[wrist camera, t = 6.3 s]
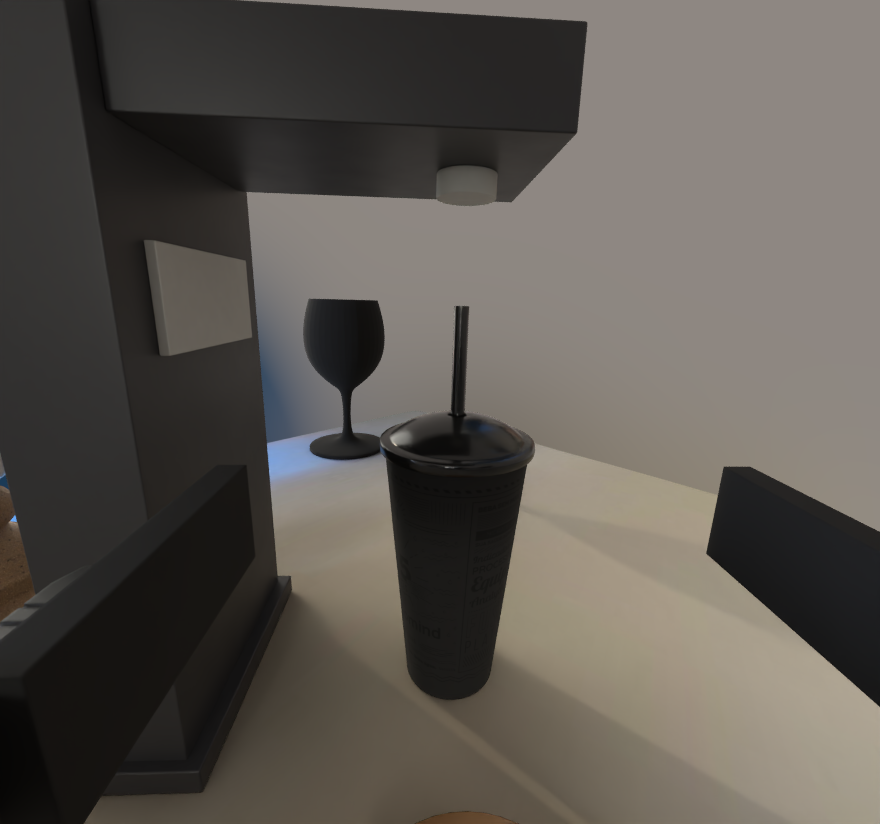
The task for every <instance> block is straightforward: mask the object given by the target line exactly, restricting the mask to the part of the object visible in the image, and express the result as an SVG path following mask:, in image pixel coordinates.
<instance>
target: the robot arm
mask: <svg viewBox="0 0 880 824" xmlns="http://www.w3.org/2000/svg"><path fill="white" fill-rule="evenodd" d="M706 554H707V555H709V556H710V557H711V558H712V559H713V560H714V561H715V562H716V563H718V564H719V565H720V566H721V567H722V568H723V569H724V570H725V571H727V572H728V573H729V574H730V575H731V576H732V577H733V578H735V579H736V580H737V581H738V582H739V583H740V584H741V585H742V586H744V587H745V588H746V589H747V590H748V591H749V592H750V593H752V594H753V595H754V596H755V597H756V598H757V599H758V600H759V601H761V602H762V603H763V604H764V605H765V606H766V607H767V608H769V609H770V610H771V611H772V612H773V613H774V614H775V615H776V616H778V617H779V618H780V619H781V620H782V621H783V622H784V623H785V624H787V625H788V626H789V627H790V628H791V629H792V630H793V631H795V632H796V633H797V634H798V635H799V636H800V637H801V638H802V639H804V640H805V641H806V642H807V643H808V644H809V645H810V646H812V647H813V648H814V649H815V650H816V651H817V652H818V653H819V654H821V655H822V656H823V657H824V658H825V659H826V660H827V661H829V662H830V663H831V664H832V665H833V666H834V667H835V668H836V669H838V670H839V671H840V672H841V673H842V674H843V675H844V676H846V677H847V678H848V679H849V680H850V681H851V682H852V683H853V684H855V685H856V686H857V687H858V688H859V689H860V690H861V691H862V692H864V693H865V694H866V695H867V696H868V697H869V698H870V699H872V700H873V701H874V702H875V703H876V704H877V705H878V706H879V707H880V532H879V531H877V530H875V529H873V528H871V527H869V526H867V525H865V524H863V523H861V522H859V521H857V520H855V519H853V518H851V517H849V516H847V515H845V514H843V513H841V512H839V511H837V510H835V509H833V508H831V507H829V506H827V505H825V504H823V503H821V502H819V501H817V500H815V499H813V498H811V497H809V496H807V495H805V494H803V493H801V492H799V491H797V490H795V489H793V488H791V487H789V486H787V485H785V484H783V483H781V482H779V481H777V480H775V479H773V478H771V477H769V476H767V475H765V474H763V473H761V472H759V471H757V470H755V469H753V468H751V467H724V469H723V473H722V478H721V483H720V488H719V493H718V498H717V503H716V508H715V513H714V518H713V523H712V528H711V533H710V538H709V543H708V548H707V553H706ZM255 557H256V555H255V545H254V535H253V525H252V514H251V504H250V494H249V484H248V473H247V465H216V466H215V467H214V468H212V469H211V470H210V471H209V472H207V473H206V474H205V475H204V476H202V477H201V478H200V479H199V480H198V481H196V482H195V483H194V484H193V485H191V486H190V487H189V488H188V489H186V490H185V491H184V492H183V493H181V494H180V495H179V496H178V497H176V498H175V499H174V500H173V501H172V502H170V503H169V504H168V505H167V506H165V507H164V508H163V509H162V510H160V511H159V512H158V513H157V514H155V515H154V516H153V517H152V518H150V519H149V520H148V521H147V522H145V523H144V524H143V525H142V526H141V527H139V528H138V529H137V530H136V531H134V532H133V533H132V534H131V535H129V536H128V537H127V538H126V539H124V540H123V541H122V542H121V543H119V544H118V545H117V546H116V547H115V548H113V549H112V550H111V551H110V552H108V553H107V554H106V555H105V556H103V557H102V558H101V559H100V560H98V561H97V562H96V563H95V564H93V565H85V566H83V567H81V568H79V569H77V570H75V571H73V572H71V573H69V574H67V575H65V576H63V577H62V578H60V579H58V580H56V581H54V582H52V583H50V584H49V585H48V586H46V587H45V588H44V589H42V590H41V591H40V592H39V593H37V594H36V595H35V596H33V597H32V598H31V599H29V600H28V601H27V602H25V603H24V606H23V608H18V609H16V610H15V611H14V612H12V613H11V614H10V615H8V616H7V617H6V618H5V619H3V620H2V621H1V622H0V824H84V822H85V821H86V819H87V817H88V816H89V814H90V813H91V811H92V810H93V808H94V807H95V805H96V803H97V802H98V800H99V799H100V797H101V796H102V794H103V793H104V791H105V789H106V788H107V786H108V785H109V783H110V782H111V780H112V779H113V777H114V776H115V774H116V772H117V771H118V769H119V768H120V766H121V765H122V763H123V762H124V760H125V758H126V757H127V755H128V754H129V752H130V751H131V749H132V748H133V746H134V744H135V743H136V741H137V740H138V738H139V737H140V735H141V734H142V732H143V730H144V729H145V727H146V726H147V724H148V723H149V721H150V720H151V718H152V717H153V715H154V713H155V712H156V710H157V709H158V707H159V706H160V704H161V703H162V701H163V699H164V698H165V696H166V695H167V693H168V692H169V690H170V689H171V687H172V685H173V684H174V682H175V681H176V679H177V678H178V676H179V675H180V673H181V671H182V670H183V668H184V667H185V665H186V664H187V662H188V661H189V659H190V657H191V656H192V654H193V653H194V651H195V650H196V648H197V647H198V645H199V644H200V642H201V640H202V639H203V637H204V636H205V634H206V633H207V631H208V630H209V628H210V626H211V625H212V623H213V622H214V620H215V619H216V617H217V616H218V614H219V612H220V611H221V609H222V608H223V606H224V605H225V603H226V602H227V600H228V598H229V597H230V595H231V594H232V592H233V591H234V589H235V588H236V586H237V585H238V583H239V581H240V580H241V578H242V577H243V575H244V574H245V572H246V571H247V569H248V567H249V566H250V564H251V563H252V561H253V560H254V558H255Z"/></svg>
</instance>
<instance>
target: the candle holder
mask: <svg viewBox="0 0 880 824" xmlns="http://www.w3.org/2000/svg"><path fill="white" fill-rule="evenodd" d="M3 476H5V471H4V467H3V463H2V459H1V455H0V479H1V478H2V477H3ZM14 515H15V511H14V507H13V503H12V499H11V495H10V491H9V490H8V489H7V488H5V487H2V486H0V622H1V621H2V620H3V619H5V618H6V617H7V616H8V615H10V614H11V613H12V612H14V611H15V610H16V609H18V608H23V606H24V603H25V602H27V601H28V600H29V599H31V598H32V597H33V596H35V592H34V588H33V584H32V579H31V575H30V571H29V567H28V563H27V559H26V555H25V551H24V547H23V543H22V539H21V535H20V531H19V527H18V523H17V522H11V521H10V520H11V519H12V518H13V517H14Z"/></svg>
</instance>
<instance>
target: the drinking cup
mask: <svg viewBox="0 0 880 824" xmlns="http://www.w3.org/2000/svg"><path fill="white" fill-rule="evenodd" d="M468 320H469V307H468V306H454V336H453V365H452V396H451V410H449V411H438V412H432V413H427V414H424V415H420V416H417V417H415V418H413V419H410V420H408V421H406V422H404V423H401V424H398V425H395V426H393V427H391V428H389V429H387V430H386V431H385V432H383V434H382V435H381V437H380V442H379V444H380V451H381V453H382V455H383V456H384V457H385V458H386V463H387V472H388V482H389V492H390V502H391V511H392V521H393V531H394V541H395V550H396V560H397V570H398V580H399V589H400V599H401V609H402V618H403V628H404V638H405V648H406V657H407V667H408V672H409V674H410V677H411V678H412V680H413V681H414V683H415V684H416V685H417V686H418V687H419V688H420V689H421V690H423V691H424V692H426V693H427V694H429V695H431V696H434V697H437V698H442V699H460V698H464V697H467V696H470V695H472V694H474V693H476V692H477V691H478V690H479V689H481V688H482V687H483V685H484V684H485V683H486V681H487V680H488V678H489V675H490V671H491V665H492V660H493V654H494V648H495V643H496V637H497V632H498V626H499V620H500V615H501V609H502V603H503V598H504V592H505V586H506V581H507V575H508V569H509V564H510V558H511V552H512V547H513V541H514V535H515V530H516V524H517V518H518V513H519V507H520V501H521V496H522V490H523V484H524V479H525V473H526V467H527V464H528V463H529V462H530V461H531V460H532V459H533V457H534V453H535V444H534V441H533V440H532V438H531V437H530V436H529V435H527V434H526V433H524V432H522V431H521V430H518V429H516V428H514V427H511V426H509V425H507V424H506V423H504V422H502V421H500V420H498V419H496V418H493V417H490V416H487V415H484V414H481V413H476V412H470V411H465V393H466V391H465V390H466V368H467V344H468Z"/></svg>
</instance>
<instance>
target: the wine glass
mask: <svg viewBox="0 0 880 824" xmlns="http://www.w3.org/2000/svg"><path fill="white" fill-rule="evenodd" d="M303 335H304V345H305V350H306V353H307V356H308V359H309V361H310V362H311V364H312V366H313V367H314V368H315V370H316V371H317V372H318V373H319V374H320V375H321V376H322V377H323V378H324V379H325V380H327V381H328V382H330V383H331V384H332V385H333V386H335V387H337V388H338V389H339V391H340V392H341V396H342V402H343V415H344V423H343V432H342V433H339V434H332V435H327V436H324V437H321V438H318V439H316V440H314V441H313V442H312V443H311V444H310V451H311V452H312V453H313V454H315V455H317V456H320V457H323V458H329V459H357V458H363V457H368V456H371V455H374V454H376V453H378V452H380V444H379V442H380V438H379V437H377V436H374V435H370V434H364V433H353V432H352V427H351V415H350V410H351V408H350V407H351V395H352V391H353V390H354V388H356V387H357V386H358V385H360V384H361V383H362V382H363V381H364V380H366V379H367V378H368V377H369V376H370V375H371V374H372V373H373V371H374V370H375V369H376V367H377V366H378V364H379V362H380V360H381V357H382V354H383V349H384V326H383V320H382V315H381V311H380V308H379V304H378V301H373V300H338V299H337V300H336V299H309V300H308V304H307V308H306V312H305V319H304V329H303Z"/></svg>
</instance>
